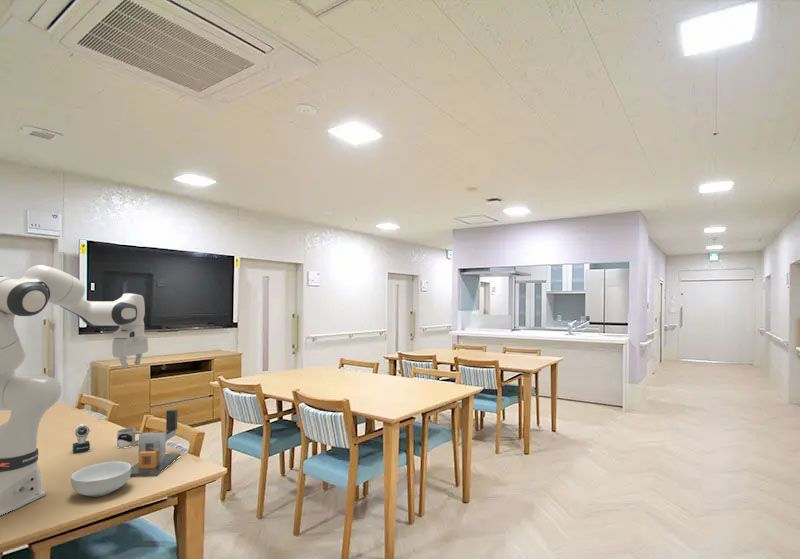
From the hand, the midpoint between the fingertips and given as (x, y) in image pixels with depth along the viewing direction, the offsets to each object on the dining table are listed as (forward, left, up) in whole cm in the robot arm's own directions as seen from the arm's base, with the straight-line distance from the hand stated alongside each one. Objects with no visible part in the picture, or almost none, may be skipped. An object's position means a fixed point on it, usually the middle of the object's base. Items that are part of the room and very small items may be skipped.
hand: (131, 366), depth 187 cm
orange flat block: (-17, -16, -35) cm, 42 cm away
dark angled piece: (-5, -16, -29) cm, 34 cm away
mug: (+12, +6, -36) cm, 39 cm away
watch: (+6, +23, -36) cm, 43 cm away
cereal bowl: (-35, -10, -36) cm, 51 cm away
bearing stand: (-14, -16, -36) cm, 42 cm away
